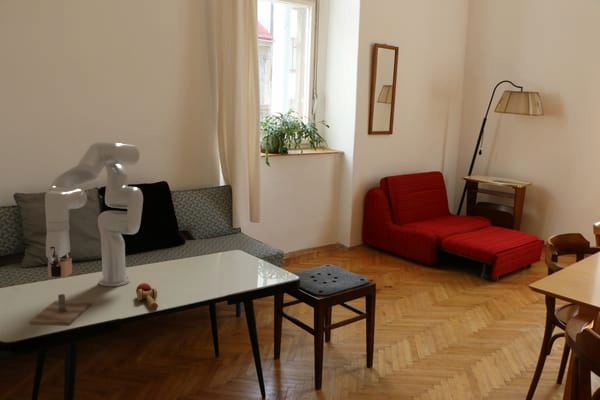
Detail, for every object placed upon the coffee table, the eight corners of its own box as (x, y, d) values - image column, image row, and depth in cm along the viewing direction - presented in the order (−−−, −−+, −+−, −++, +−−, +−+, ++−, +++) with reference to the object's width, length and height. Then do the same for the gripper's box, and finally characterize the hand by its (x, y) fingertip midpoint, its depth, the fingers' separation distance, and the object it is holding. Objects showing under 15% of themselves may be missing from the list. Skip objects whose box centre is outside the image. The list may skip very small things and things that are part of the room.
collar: (56, 272, 196) (55, 257, 195) (72, 272, 196) (71, 258, 195) (48, 277, 190) (47, 262, 189) (65, 277, 190) (64, 262, 189)
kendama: (166, 311, 204) (152, 290, 218) (163, 296, 201) (150, 277, 216) (146, 317, 200) (134, 296, 215) (143, 303, 198) (131, 283, 213)
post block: (55, 303, 205) (54, 285, 204) (91, 303, 205) (91, 286, 204) (30, 323, 185) (28, 304, 184) (70, 324, 186) (69, 305, 184)
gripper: (58, 220, 198) (60, 266, 201) (35, 230, 181) (38, 281, 184) (78, 220, 198) (80, 267, 201) (57, 231, 181) (60, 281, 184)
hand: (60, 273), depth 193 cm, fingers closed on collar, 6 cm apart
